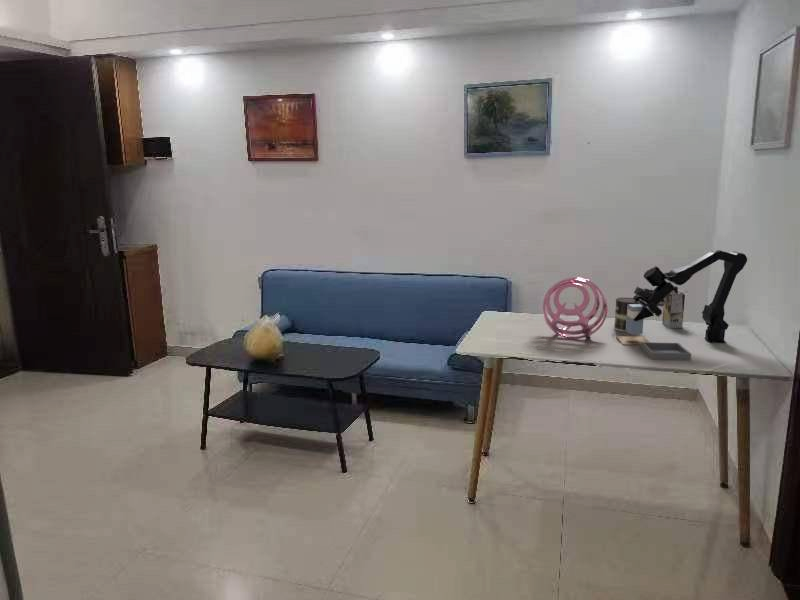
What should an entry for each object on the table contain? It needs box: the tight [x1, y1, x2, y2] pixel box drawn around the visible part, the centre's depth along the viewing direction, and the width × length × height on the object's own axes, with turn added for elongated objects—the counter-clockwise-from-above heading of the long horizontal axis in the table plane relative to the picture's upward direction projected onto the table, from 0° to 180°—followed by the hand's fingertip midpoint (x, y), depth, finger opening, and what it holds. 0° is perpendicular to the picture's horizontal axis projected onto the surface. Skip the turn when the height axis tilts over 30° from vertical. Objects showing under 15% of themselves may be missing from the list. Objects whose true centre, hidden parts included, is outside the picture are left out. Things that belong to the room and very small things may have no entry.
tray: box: [641, 341, 692, 361], centre depth 236 cm, size 15×15×3 cm
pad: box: [615, 335, 650, 347], centre depth 253 cm, size 12×12×1 cm
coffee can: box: [613, 297, 635, 333], centre depth 273 cm, size 10×10×14 cm
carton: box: [627, 304, 644, 335], centre depth 251 cm, size 5×5×12 cm
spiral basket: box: [542, 277, 608, 340], centre depth 263 cm, size 28×28×27 cm
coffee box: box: [661, 291, 686, 329], centre depth 277 cm, size 9×6×16 cm
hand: (632, 319), depth 251 cm, fingers closed on carton, 5 cm apart
